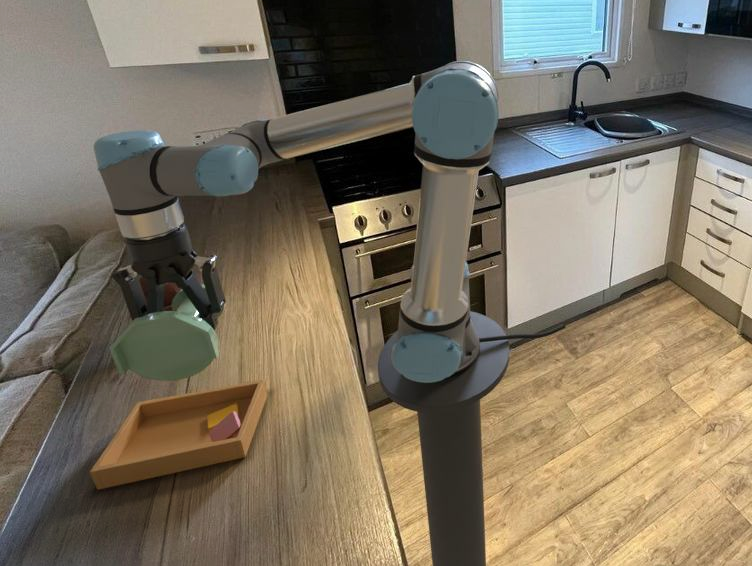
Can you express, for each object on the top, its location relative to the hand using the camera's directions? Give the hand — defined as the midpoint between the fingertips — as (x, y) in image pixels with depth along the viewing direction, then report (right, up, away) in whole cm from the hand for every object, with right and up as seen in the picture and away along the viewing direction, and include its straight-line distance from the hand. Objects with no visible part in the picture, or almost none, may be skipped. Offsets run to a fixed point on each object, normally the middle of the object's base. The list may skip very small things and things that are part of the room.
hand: (192, 347), depth 76 cm
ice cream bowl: (-21, -6, +21) cm, 30 cm away
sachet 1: (+5, -12, 0) cm, 13 cm away
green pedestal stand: (-2, +7, +4) cm, 8 cm away
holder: (+2, -14, -2) cm, 15 cm away
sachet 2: (+8, -12, -3) cm, 15 cm away
